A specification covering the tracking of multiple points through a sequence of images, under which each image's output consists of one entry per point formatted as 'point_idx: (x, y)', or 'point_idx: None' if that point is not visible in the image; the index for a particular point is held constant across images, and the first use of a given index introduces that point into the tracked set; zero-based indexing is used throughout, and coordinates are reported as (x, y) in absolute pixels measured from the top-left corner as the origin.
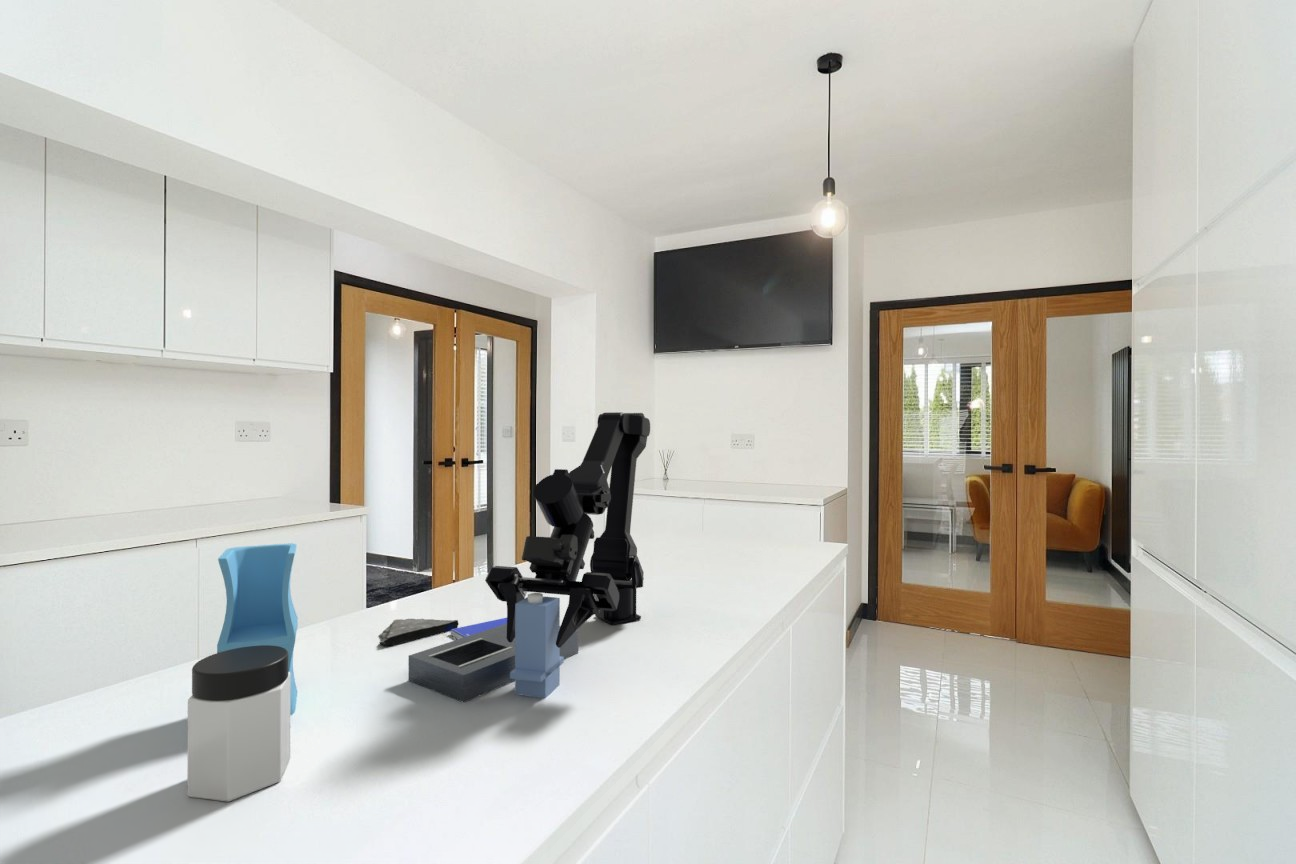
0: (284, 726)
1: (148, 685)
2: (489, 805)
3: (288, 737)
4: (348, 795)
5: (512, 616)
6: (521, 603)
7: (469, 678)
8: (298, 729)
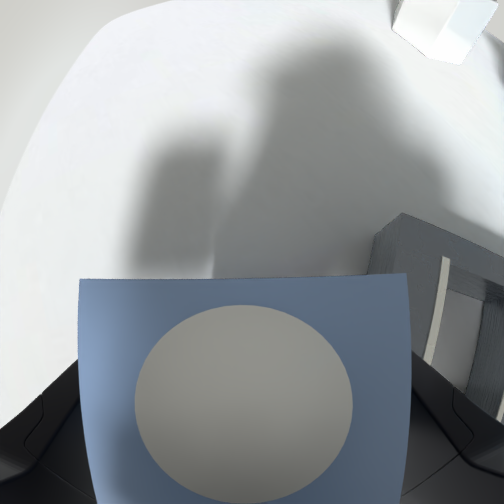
0: (419, 3)
1: None
2: (155, 35)
3: (428, 30)
4: (312, 18)
5: (419, 387)
6: (362, 306)
7: (393, 234)
8: (485, 112)
